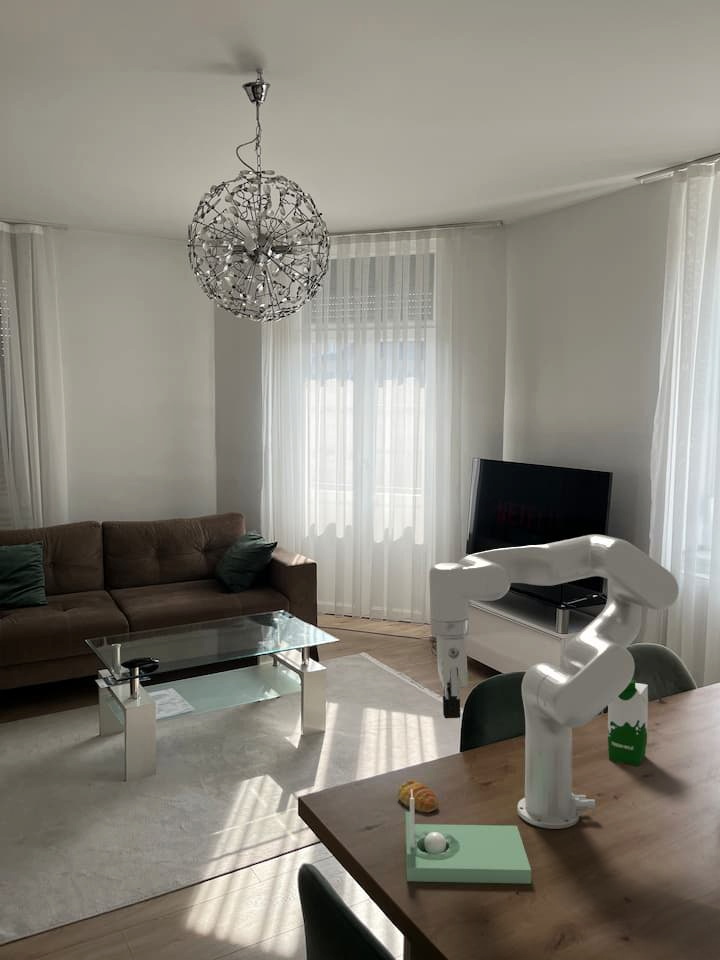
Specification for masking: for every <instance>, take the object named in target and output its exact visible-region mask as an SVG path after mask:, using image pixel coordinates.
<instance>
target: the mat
mask: <svg viewBox="0 0 720 960" xmlns="http://www.w3.org/2000/svg"><path fill="white" fill-rule="evenodd" d="M431 832H438V833H440V834H442V835H443V836H444V838H445V840H446V850H445V852H443V853H440V854H428V853H427V851H426V850H425V847H424V841H425V838H426V836H427V835H428V834H429V833H431ZM523 843H524V842H523V840H522V836H521V834H520V830H519V828H518V825H499V824H498V825H497V824H496V825H490V824H489V825H487V824H485V825H483V824H480V825H479V824H431V823H430V824H429V823H427V824H426V823H425V824H422V823H416V824H415V823H414V848H411V847H410V811H405V853H406V854H405V856H406V857H405V859H406V861H405V863H406V882H427V883H429V882H432V883H433V882H434V883H435V882H437V883H439V882H440V883H477V884H478V883H479V884H481V883H485V884H488V883H489V884H490V883H491V884H527V885H528V884H532V869H531V866H530V863H529V862H530V861H529V859H528V856H527V853H526V849H525V846H524V844H523Z"/></svg>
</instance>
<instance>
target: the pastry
mask: <svg viewBox="0 0 720 960" xmlns="http://www.w3.org/2000/svg"><path fill="white" fill-rule="evenodd" d="M411 789H412V791H413V798H414V810H415V809H416V810H415V811H417V810H418V812H420V811H421V813H427V814H428V813H431V812H433V811H436V810H437V808H438V805H439V801H438V799H437V796H436V795H435V794H434V792H433V790H431V788H429V786H427V785H425V784H424V783H423V782H417V781H416V780H412V779H408V780H406V781H405V782H404V783H402V784H401V786H400V787H399V790H398V791H397V796H398V799H399V800H400V802H401V803H402V804H404V805H405V806H406V807H408V806H409V807H408V808H410V798H411Z"/></svg>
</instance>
